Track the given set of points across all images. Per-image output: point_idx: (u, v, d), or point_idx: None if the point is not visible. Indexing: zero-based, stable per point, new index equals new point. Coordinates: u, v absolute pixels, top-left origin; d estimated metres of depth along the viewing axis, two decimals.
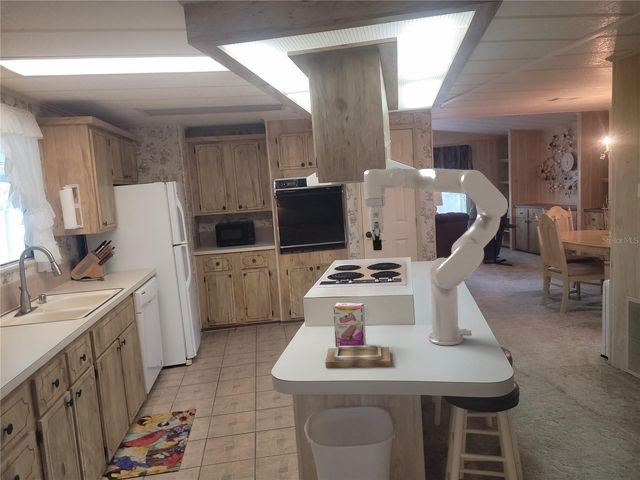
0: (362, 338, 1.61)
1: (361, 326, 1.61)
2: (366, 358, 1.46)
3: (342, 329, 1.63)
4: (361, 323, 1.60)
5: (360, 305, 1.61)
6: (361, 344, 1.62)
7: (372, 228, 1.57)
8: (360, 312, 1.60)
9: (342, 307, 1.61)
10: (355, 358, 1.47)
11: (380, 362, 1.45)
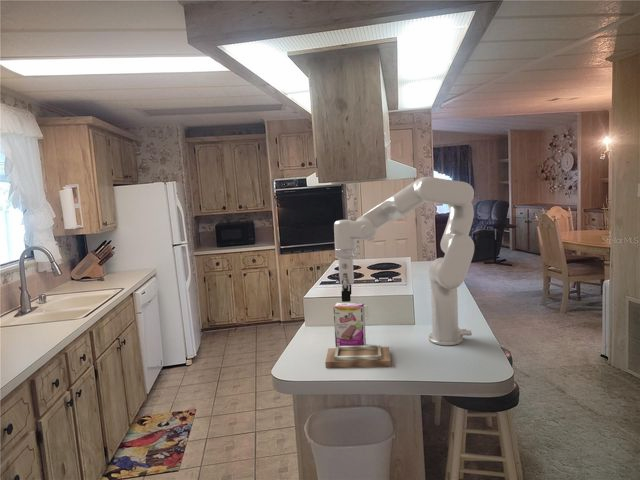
0: (362, 338, 1.61)
1: (361, 326, 1.61)
2: (366, 358, 1.46)
3: (342, 329, 1.63)
4: (361, 323, 1.60)
5: (360, 305, 1.61)
6: (361, 344, 1.62)
7: (341, 279, 1.57)
8: (360, 312, 1.60)
9: (342, 307, 1.61)
10: (355, 358, 1.47)
11: (380, 362, 1.45)
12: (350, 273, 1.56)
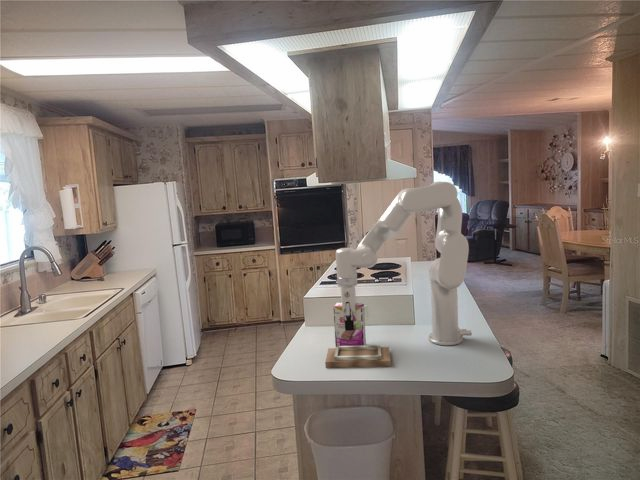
0: (362, 338, 1.61)
1: (361, 326, 1.61)
2: (366, 358, 1.46)
3: (342, 329, 1.63)
4: (361, 323, 1.60)
5: (360, 305, 1.61)
6: (361, 344, 1.62)
7: (343, 308, 1.58)
8: (360, 312, 1.60)
9: None
10: (355, 358, 1.47)
11: (380, 362, 1.45)
12: (352, 301, 1.58)
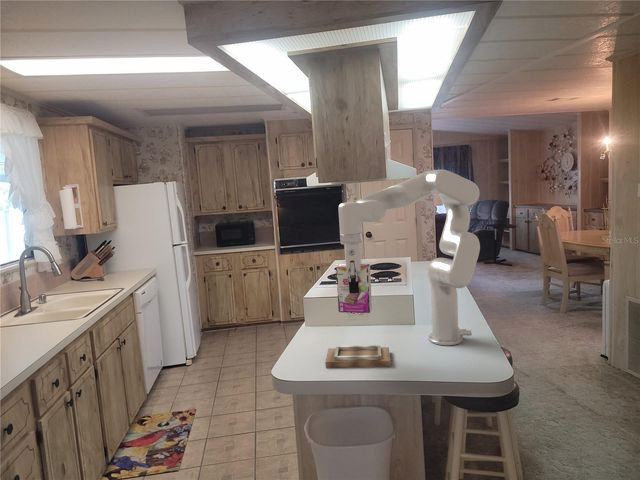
0: (368, 301, 1.46)
1: (367, 288, 1.45)
2: (366, 358, 1.46)
3: (346, 292, 1.47)
4: (367, 285, 1.45)
5: (365, 265, 1.46)
6: (367, 308, 1.46)
7: (347, 267, 1.43)
8: (366, 272, 1.44)
9: None
10: (355, 358, 1.47)
11: (380, 362, 1.45)
12: (357, 260, 1.42)
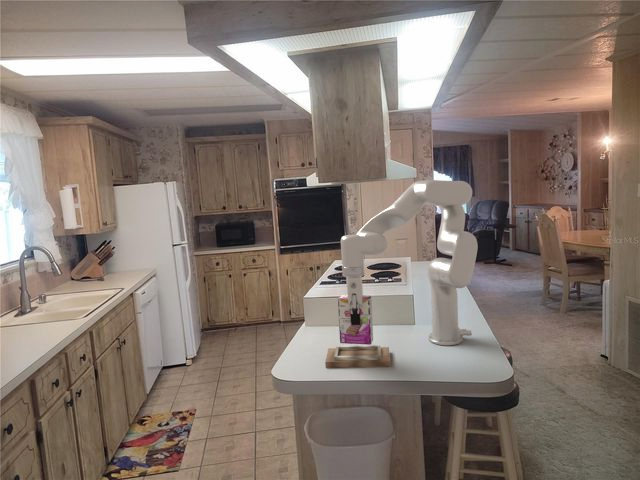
0: (369, 333, 1.47)
1: (368, 320, 1.47)
2: (366, 358, 1.46)
3: (347, 323, 1.49)
4: (368, 317, 1.46)
5: (367, 297, 1.47)
6: (368, 340, 1.48)
7: (349, 300, 1.44)
8: (367, 305, 1.46)
9: (347, 299, 1.47)
10: (355, 358, 1.47)
11: (380, 362, 1.45)
12: (359, 293, 1.44)
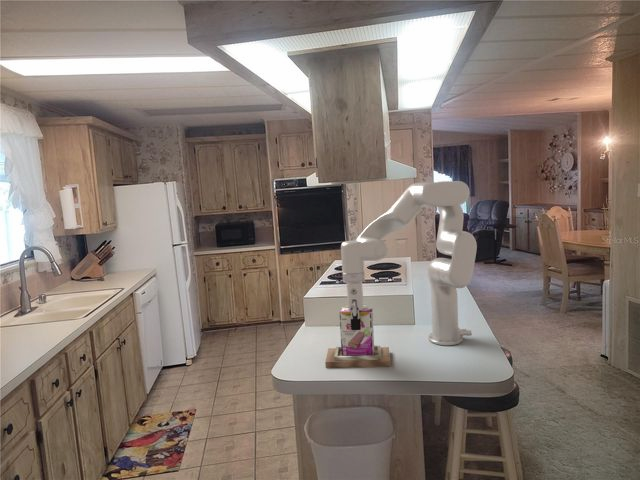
0: (371, 346, 1.48)
1: (370, 333, 1.47)
2: (366, 358, 1.46)
3: (349, 336, 1.49)
4: (370, 330, 1.47)
5: (369, 310, 1.48)
6: (370, 353, 1.48)
7: (350, 306, 1.45)
8: (369, 318, 1.46)
9: (349, 312, 1.48)
10: (355, 358, 1.47)
11: (380, 362, 1.45)
12: (360, 299, 1.44)
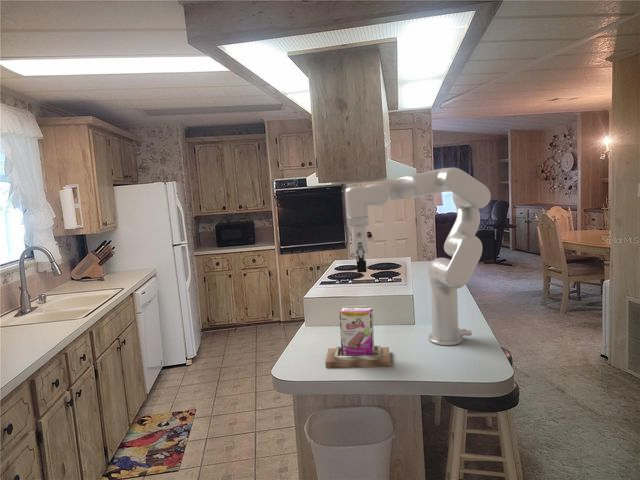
0: (371, 346, 1.48)
1: (370, 333, 1.47)
2: (366, 358, 1.46)
3: (349, 336, 1.49)
4: (370, 330, 1.47)
5: (369, 310, 1.48)
6: (370, 353, 1.48)
7: (355, 249, 1.49)
8: (369, 318, 1.46)
9: (349, 312, 1.48)
10: (355, 358, 1.47)
11: (380, 362, 1.45)
12: (365, 242, 1.48)
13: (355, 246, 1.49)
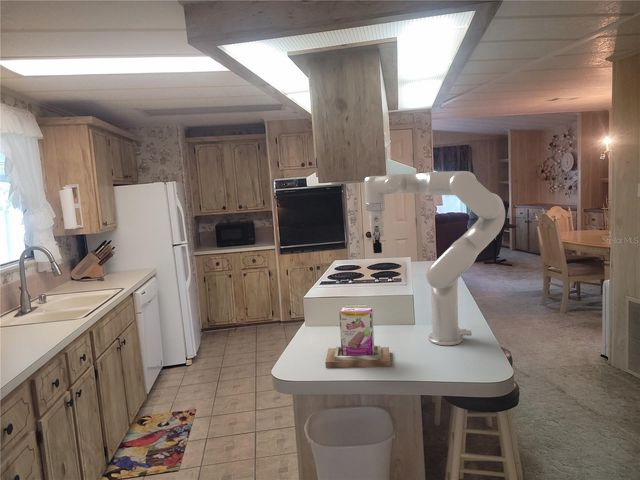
0: (371, 346, 1.48)
1: (370, 333, 1.47)
2: (366, 358, 1.46)
3: (349, 336, 1.49)
4: (370, 330, 1.47)
5: (369, 310, 1.48)
6: (370, 353, 1.48)
7: (372, 232, 1.65)
8: (369, 318, 1.46)
9: (349, 312, 1.48)
10: (355, 358, 1.47)
11: (380, 362, 1.45)
12: (381, 225, 1.65)
13: (372, 229, 1.65)
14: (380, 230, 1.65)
